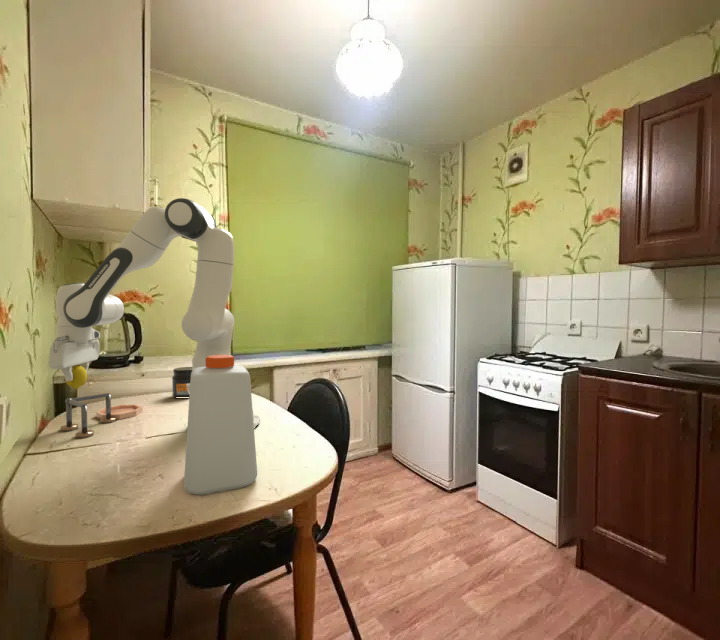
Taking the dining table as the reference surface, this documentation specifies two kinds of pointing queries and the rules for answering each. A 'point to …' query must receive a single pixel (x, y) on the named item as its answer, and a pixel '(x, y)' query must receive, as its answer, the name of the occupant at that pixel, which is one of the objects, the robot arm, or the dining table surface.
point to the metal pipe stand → (85, 414)
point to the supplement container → (181, 381)
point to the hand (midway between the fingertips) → (76, 378)
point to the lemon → (78, 377)
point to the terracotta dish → (121, 411)
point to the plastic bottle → (220, 428)
